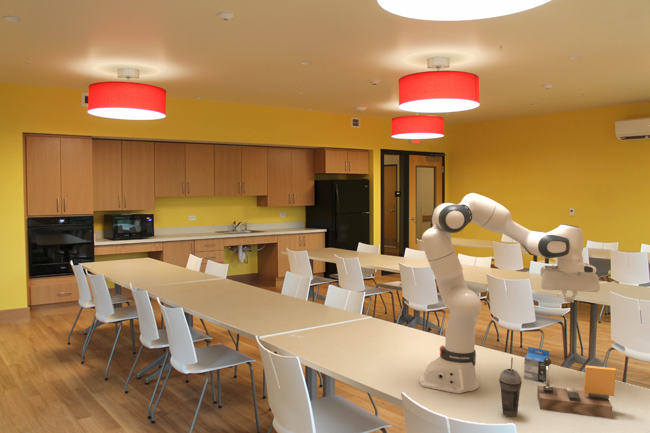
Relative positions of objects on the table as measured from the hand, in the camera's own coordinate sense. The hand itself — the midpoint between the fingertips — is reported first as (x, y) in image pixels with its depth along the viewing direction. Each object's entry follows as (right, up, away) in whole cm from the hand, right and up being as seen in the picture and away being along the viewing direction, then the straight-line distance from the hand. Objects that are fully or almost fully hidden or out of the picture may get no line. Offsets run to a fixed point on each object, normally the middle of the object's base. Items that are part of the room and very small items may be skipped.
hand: (569, 302), depth 190 cm
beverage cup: (-32, -34, -24) cm, 52 cm away
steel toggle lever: (-15, -28, -15) cm, 35 cm away
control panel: (-7, -34, -17) cm, 39 cm away
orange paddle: (0, -29, -20) cm, 35 cm away
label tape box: (-9, -33, +9) cm, 35 cm away
